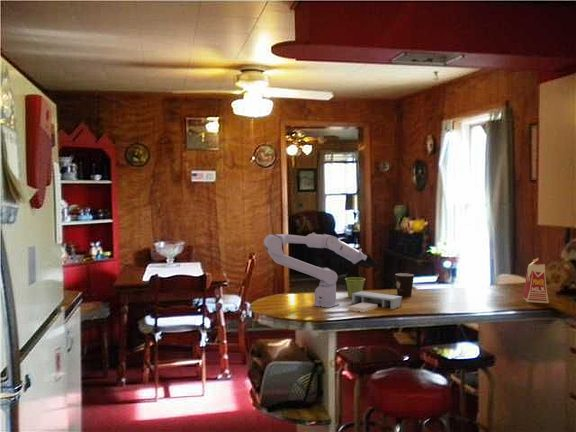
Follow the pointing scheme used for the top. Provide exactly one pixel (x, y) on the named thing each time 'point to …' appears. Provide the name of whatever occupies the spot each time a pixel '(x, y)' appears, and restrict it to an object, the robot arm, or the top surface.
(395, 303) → the shelf
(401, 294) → the coffee mug
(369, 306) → the tile
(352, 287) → the plant pot
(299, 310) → the top surface
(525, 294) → the milk carton
